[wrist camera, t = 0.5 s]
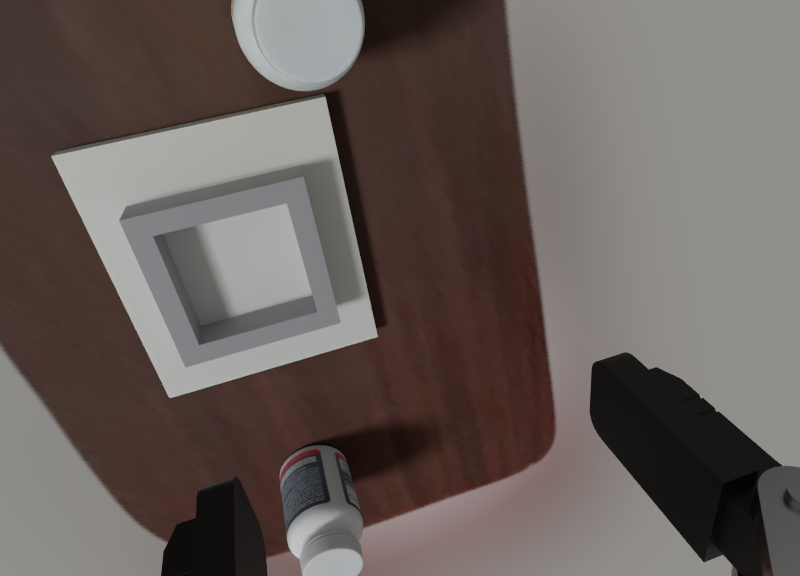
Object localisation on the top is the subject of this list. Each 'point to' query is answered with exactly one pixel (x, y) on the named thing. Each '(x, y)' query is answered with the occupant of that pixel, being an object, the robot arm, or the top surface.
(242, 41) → the supplement bottle
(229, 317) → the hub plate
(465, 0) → the top surface
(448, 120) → the top surface
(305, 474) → the pill bottle
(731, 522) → the robot arm
